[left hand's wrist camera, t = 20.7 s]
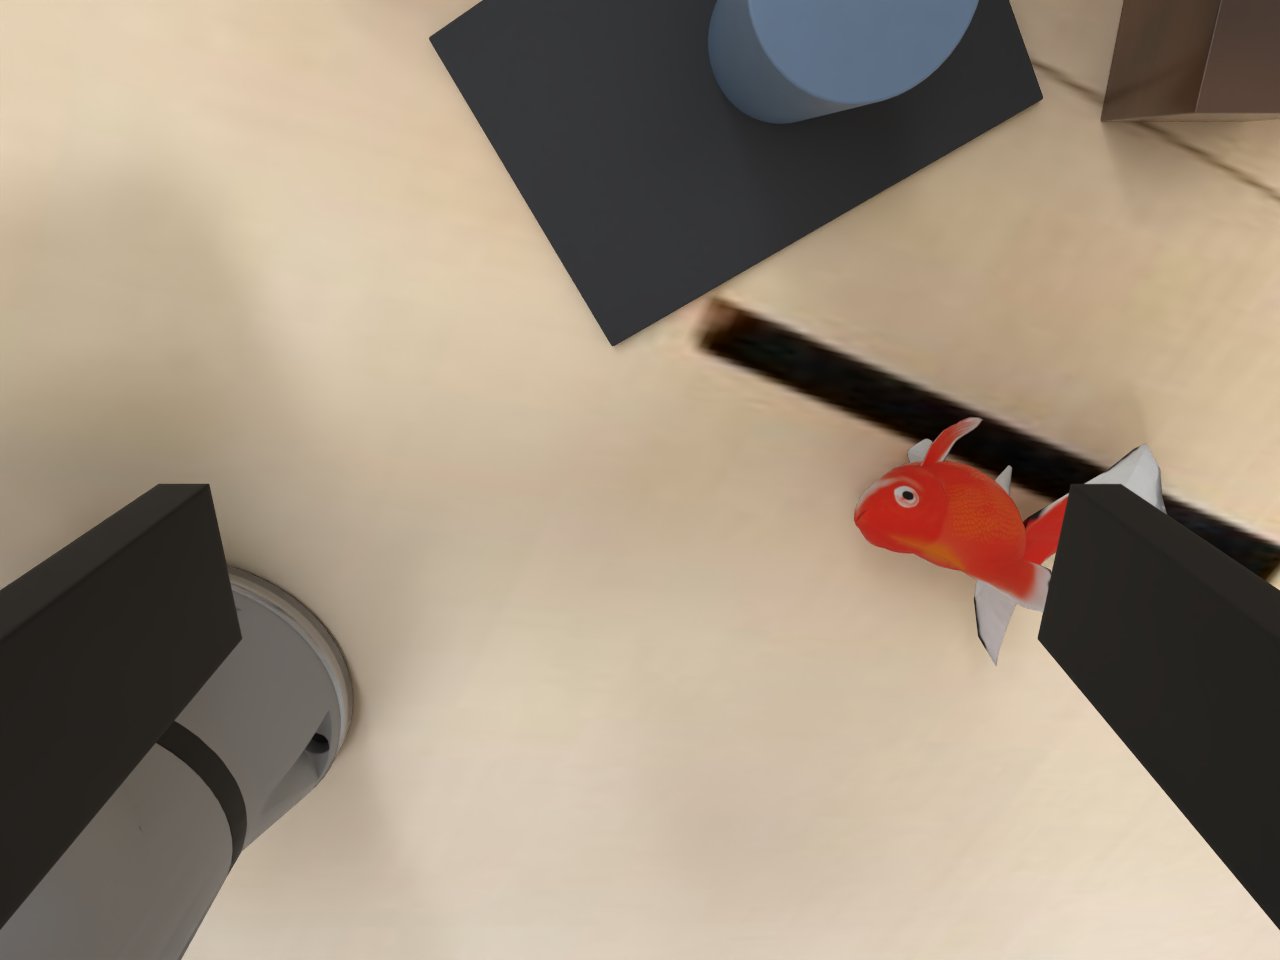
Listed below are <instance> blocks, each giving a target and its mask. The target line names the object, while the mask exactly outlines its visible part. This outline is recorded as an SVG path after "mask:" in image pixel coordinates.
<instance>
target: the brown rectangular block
mask: <svg viewBox="0 0 1280 960" xmlns="http://www.w3.org/2000/svg"><path fill="white" fill-rule="evenodd" d="M1273 119H1280V0H1124V4H1123V9H1122V14H1121V20H1120V25H1119V30H1118V35H1117V40H1116V45H1115V50H1114V56H1113V61H1112V66H1111V71H1110V76H1109V81H1108V86H1107V92H1106V97H1105V102H1104V107H1103V112H1102V117H1101V121H1258V120H1273Z"/></svg>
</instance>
